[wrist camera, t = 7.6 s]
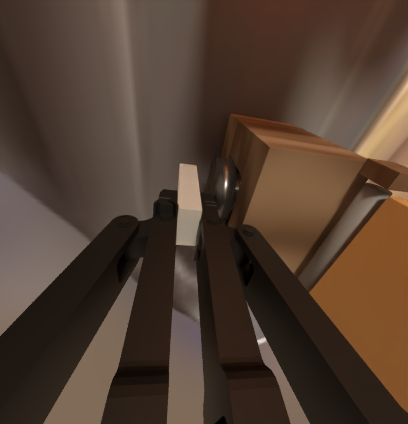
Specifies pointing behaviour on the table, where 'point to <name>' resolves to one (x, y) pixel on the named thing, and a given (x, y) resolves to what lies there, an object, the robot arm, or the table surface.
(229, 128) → the hitch block
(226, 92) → the table surface
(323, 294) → the plate
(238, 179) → the pin
